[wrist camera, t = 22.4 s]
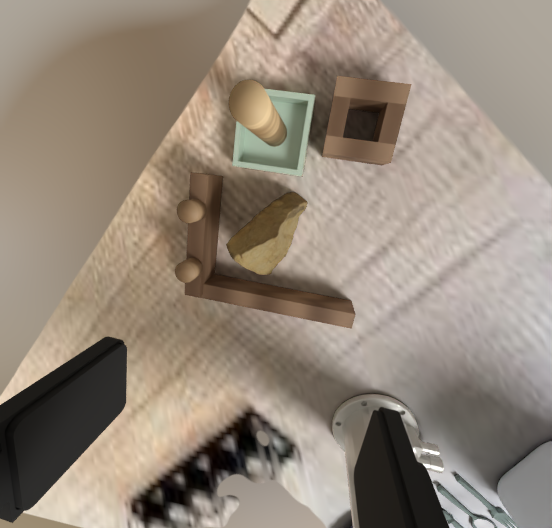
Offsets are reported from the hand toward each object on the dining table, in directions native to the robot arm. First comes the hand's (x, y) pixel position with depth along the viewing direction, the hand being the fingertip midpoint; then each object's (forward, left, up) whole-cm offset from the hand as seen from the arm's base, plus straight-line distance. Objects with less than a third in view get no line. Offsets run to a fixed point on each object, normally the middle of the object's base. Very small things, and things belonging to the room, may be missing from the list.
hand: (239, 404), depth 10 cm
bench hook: (+2, +1, -27) cm, 27 cm away
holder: (-5, -15, -27) cm, 31 cm away
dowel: (+5, -13, -26) cm, 30 cm away
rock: (+2, -1, -27) cm, 27 cm away
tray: (+5, -13, -27) cm, 30 cm away
